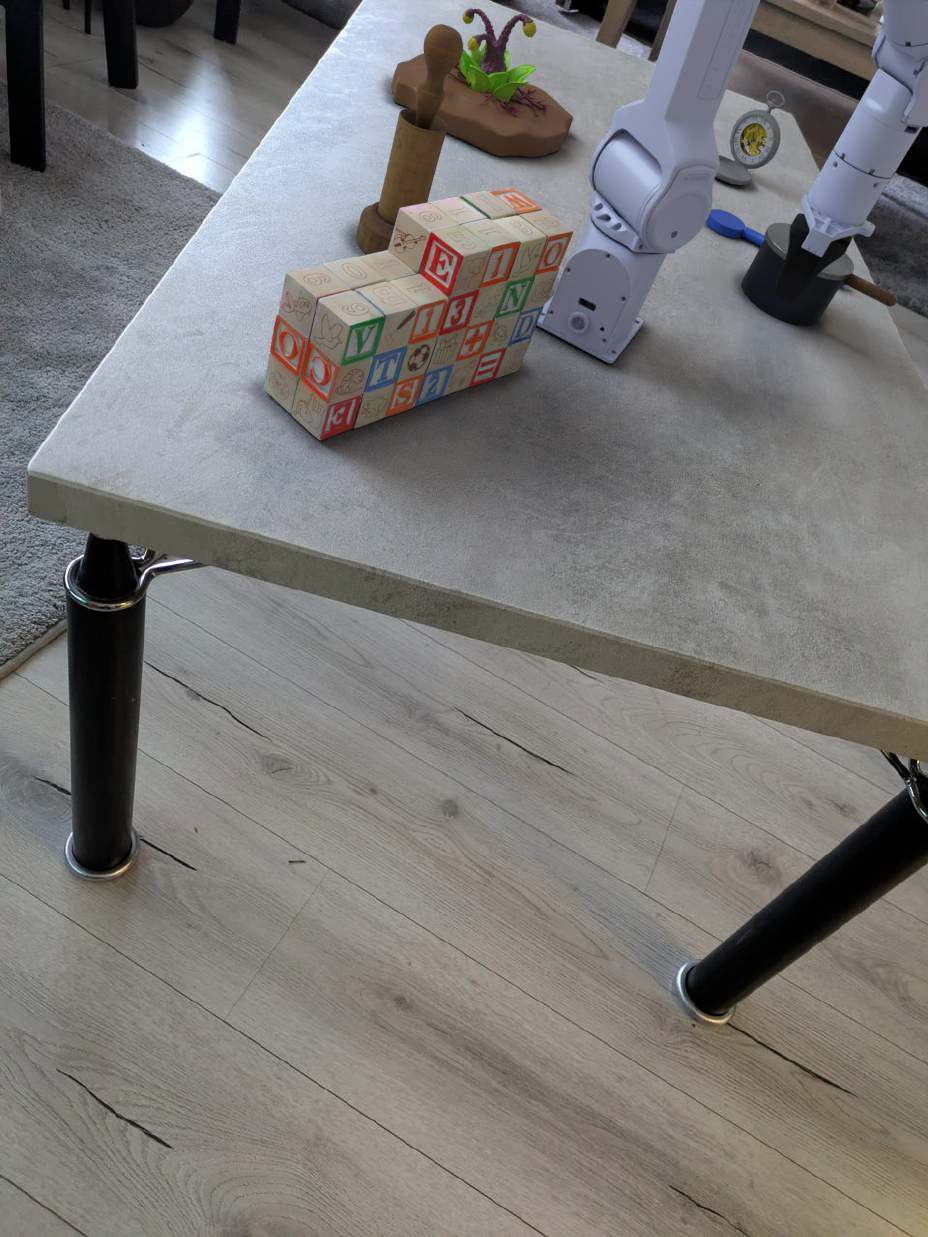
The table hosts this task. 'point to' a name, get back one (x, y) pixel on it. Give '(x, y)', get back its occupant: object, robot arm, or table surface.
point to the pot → (815, 296)
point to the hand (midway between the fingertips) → (783, 296)
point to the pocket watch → (751, 144)
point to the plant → (491, 96)
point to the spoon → (734, 227)
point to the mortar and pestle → (413, 144)
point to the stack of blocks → (415, 311)
